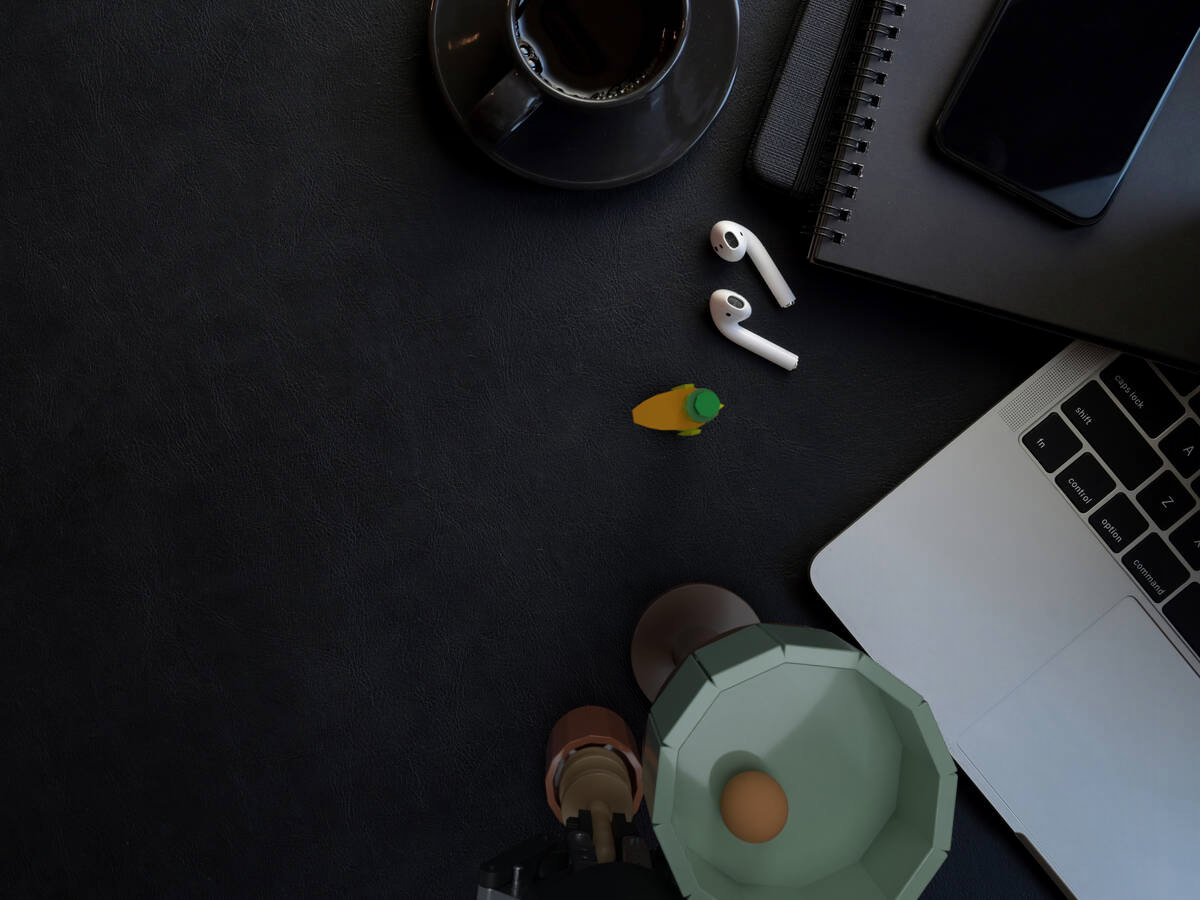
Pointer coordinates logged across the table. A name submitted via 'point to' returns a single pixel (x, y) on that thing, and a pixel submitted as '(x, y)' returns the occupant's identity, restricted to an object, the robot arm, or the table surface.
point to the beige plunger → (596, 794)
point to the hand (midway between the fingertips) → (600, 827)
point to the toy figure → (679, 410)
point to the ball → (754, 807)
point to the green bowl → (799, 771)
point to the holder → (590, 731)
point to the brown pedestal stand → (683, 631)
